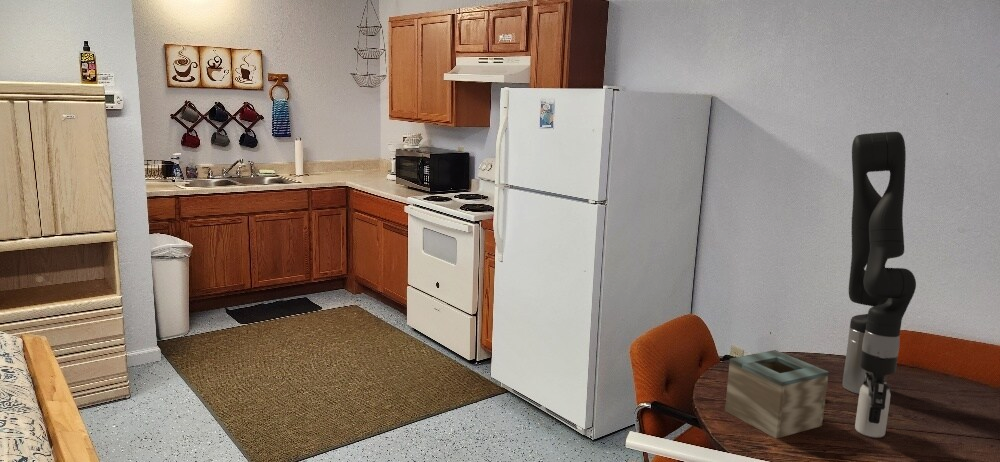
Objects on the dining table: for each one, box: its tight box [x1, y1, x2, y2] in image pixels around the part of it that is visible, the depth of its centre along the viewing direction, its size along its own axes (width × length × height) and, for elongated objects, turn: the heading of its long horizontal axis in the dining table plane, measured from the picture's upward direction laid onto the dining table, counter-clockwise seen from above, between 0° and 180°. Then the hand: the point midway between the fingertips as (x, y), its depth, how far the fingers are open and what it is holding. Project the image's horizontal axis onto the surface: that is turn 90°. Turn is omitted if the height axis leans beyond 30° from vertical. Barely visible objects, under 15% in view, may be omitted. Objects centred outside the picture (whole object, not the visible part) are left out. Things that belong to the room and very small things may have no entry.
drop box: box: [724, 349, 830, 440], centre depth 169 cm, size 16×16×14 cm
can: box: [854, 381, 891, 439], centre depth 164 cm, size 6×6×12 cm
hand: (870, 415), depth 164 cm, fingers open, 8 cm apart
